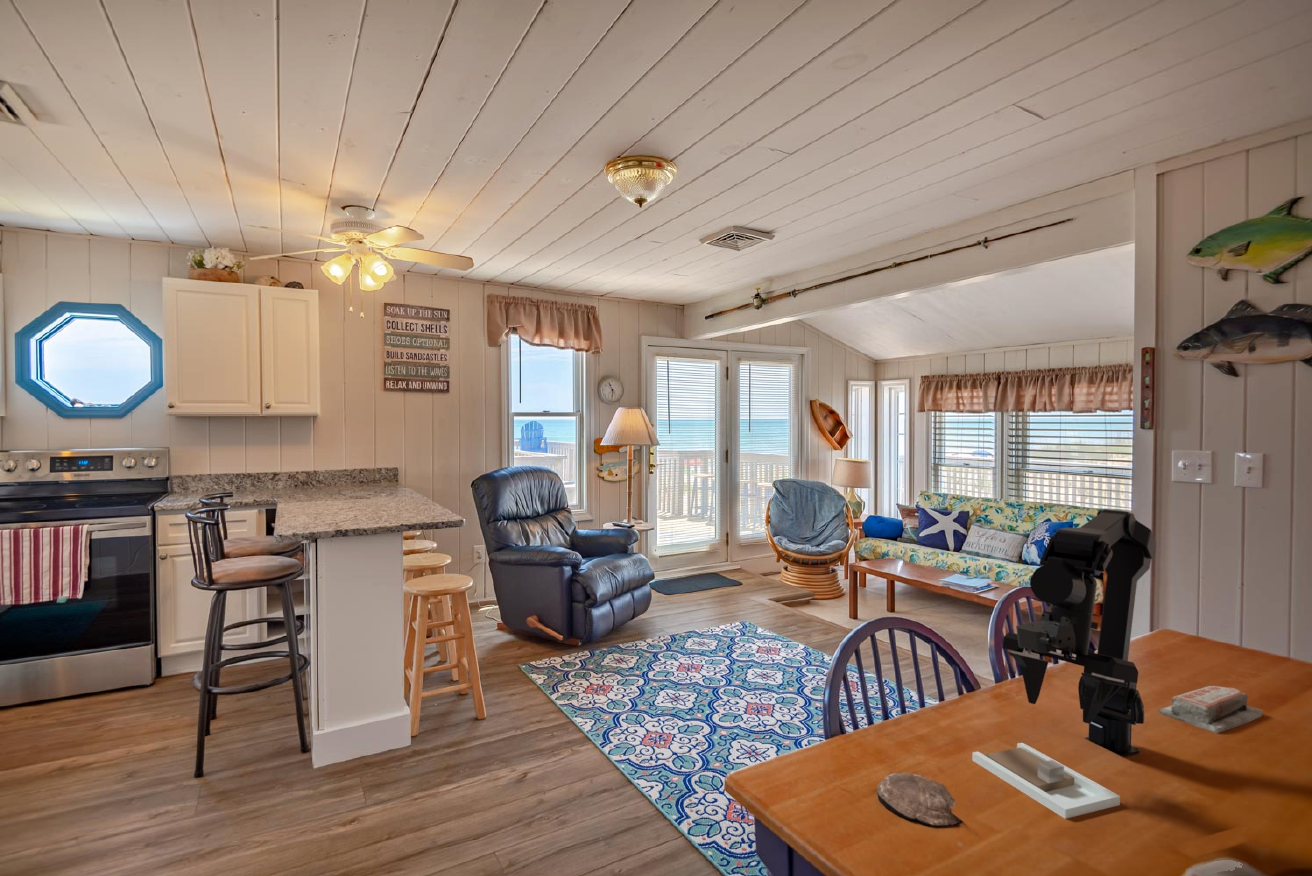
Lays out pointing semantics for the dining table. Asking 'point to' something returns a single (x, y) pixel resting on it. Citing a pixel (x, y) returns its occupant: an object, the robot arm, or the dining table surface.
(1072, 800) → the open box
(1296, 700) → the dining table surface
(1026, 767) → the cover plate
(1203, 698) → the packaged product
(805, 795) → the dining table surface
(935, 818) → the shell
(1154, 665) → the dining table surface
